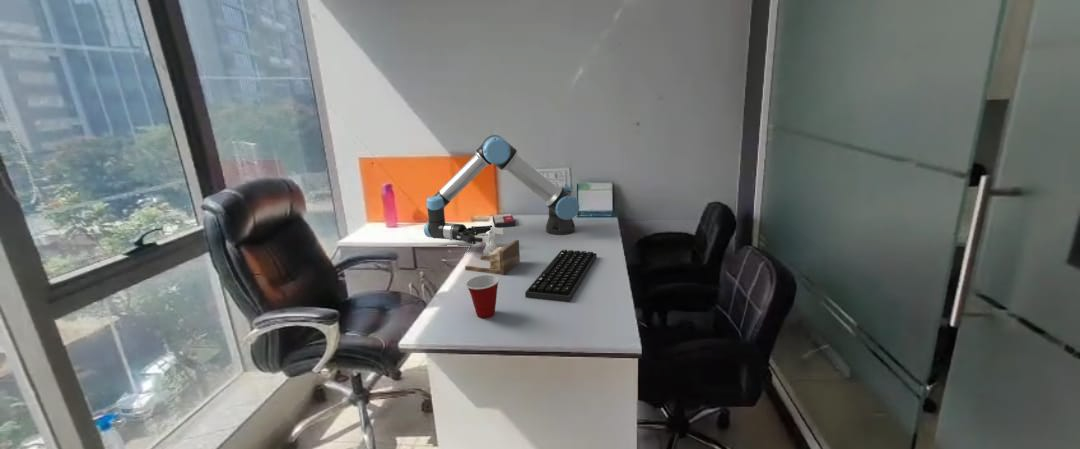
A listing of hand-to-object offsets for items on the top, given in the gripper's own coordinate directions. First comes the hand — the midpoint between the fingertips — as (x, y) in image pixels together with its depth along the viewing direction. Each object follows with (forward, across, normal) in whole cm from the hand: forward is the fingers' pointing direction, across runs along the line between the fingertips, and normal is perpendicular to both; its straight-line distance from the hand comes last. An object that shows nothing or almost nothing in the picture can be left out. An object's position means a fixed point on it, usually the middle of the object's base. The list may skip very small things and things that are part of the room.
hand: (496, 235), depth 202 cm
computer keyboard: (+36, +15, -10) cm, 41 cm away
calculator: (-21, -48, -10) cm, 53 cm away
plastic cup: (+22, +53, -9) cm, 59 cm away
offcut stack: (+8, +14, -9) cm, 19 cm away
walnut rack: (+4, +14, -9) cm, 17 cm away
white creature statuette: (-1, +2, -9) cm, 10 cm away
